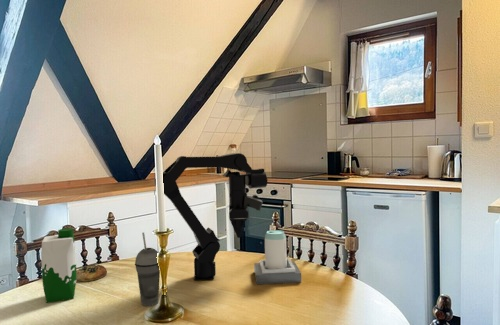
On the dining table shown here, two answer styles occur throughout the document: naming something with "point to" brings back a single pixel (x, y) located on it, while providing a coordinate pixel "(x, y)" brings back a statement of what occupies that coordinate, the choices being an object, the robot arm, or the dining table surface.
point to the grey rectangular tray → (277, 273)
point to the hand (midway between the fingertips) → (238, 234)
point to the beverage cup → (148, 275)
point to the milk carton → (59, 266)
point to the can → (275, 249)
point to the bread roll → (91, 273)
